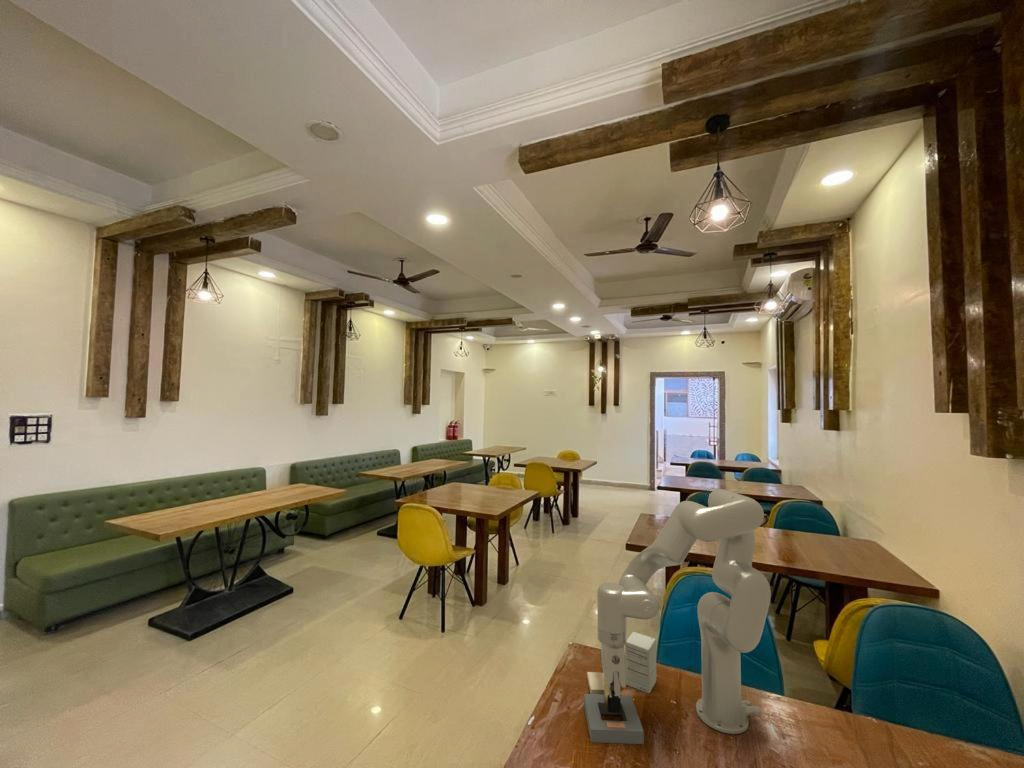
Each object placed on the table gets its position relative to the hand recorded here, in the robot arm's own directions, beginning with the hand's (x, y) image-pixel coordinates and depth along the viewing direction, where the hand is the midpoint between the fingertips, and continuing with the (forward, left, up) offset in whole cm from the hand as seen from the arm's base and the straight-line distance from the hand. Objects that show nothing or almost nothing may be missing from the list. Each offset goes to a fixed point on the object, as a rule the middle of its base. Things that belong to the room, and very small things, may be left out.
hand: (612, 704), depth 110 cm
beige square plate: (0, -14, -5) cm, 15 cm away
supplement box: (-12, -17, -5) cm, 21 cm away
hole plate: (0, 0, -5) cm, 5 cm away
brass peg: (0, 0, -1) cm, 1 cm away
